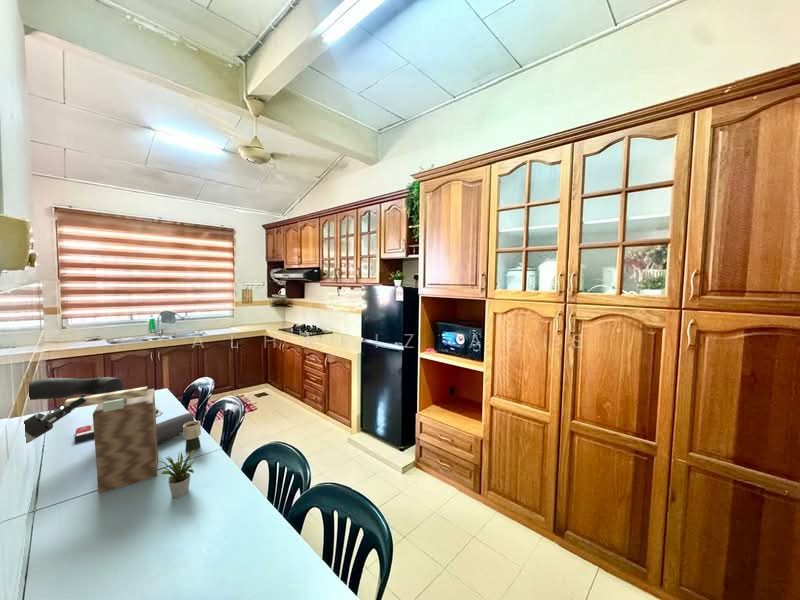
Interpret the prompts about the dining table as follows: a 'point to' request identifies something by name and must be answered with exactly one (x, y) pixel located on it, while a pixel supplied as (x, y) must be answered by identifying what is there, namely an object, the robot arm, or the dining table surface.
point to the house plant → (178, 475)
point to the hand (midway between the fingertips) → (85, 397)
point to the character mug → (192, 435)
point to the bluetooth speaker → (172, 427)
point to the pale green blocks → (113, 404)
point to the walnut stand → (126, 443)
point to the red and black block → (84, 433)
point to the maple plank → (110, 396)
